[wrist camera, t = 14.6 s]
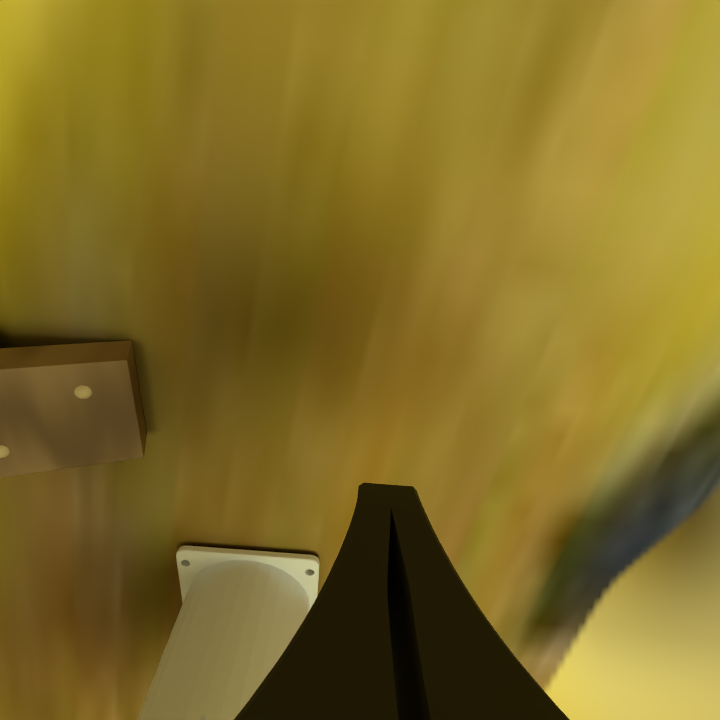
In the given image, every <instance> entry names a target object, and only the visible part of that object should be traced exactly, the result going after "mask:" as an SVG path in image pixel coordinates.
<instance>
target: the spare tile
mask: <svg viewBox="0 0 720 720" xmlns="http://www.w3.org/2000/svg"><path fill="white" fill-rule="evenodd" d="M146 435H147V431H146V425H145V419H144V413H143V407H142V401H141V394H140V388H139V382H138V376H137V370H136V364H135V358H134V352H133V345H132V340H126V341H110V342H94V343H79V344H63V345H47V346H31V347H15V348H0V478H1V477H8V476H15V475H23V474H30V473H37V472H44V471H52V470H59V469H66V468H74V467H81V466H88V465H96V464H103V463H110V462H118V461H125V460H132V459H139V458H144V452H145V443H146Z"/></svg>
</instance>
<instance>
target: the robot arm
mask: <svg viewBox="0 0 720 720" xmlns="http://www.w3.org/2000/svg"><path fill="white" fill-rule="evenodd" d="M176 559H177V567H178V574H179V581H180V588H181V596H182V603H183V604H182V607H181V609H180V612H179V615H178V617H177V620H176V622H175V625H174V627H173V630H172V632H171V635H170V637H169V640H168V642H167V645H166V647H165V650H164V652H163V655H162V657H161V660H160V662H159V665H158V668H157V670H156V673H155V675H154V678H153V680H152V683H151V685H150V688H149V690H148V693H147V695H146V698H145V700H144V703H143V705H142V708H141V710H140V713H139V715H138V718H137V720H569V719H568V718H567V716H566V715H565V714H564V713H563V712H562V711H561V710H560V709H559V708H558V707H557V706H556V705H555V703H554V702H553V701H552V700H551V699H550V697H549V696H548V695H547V694H546V693H545V692H544V690H543V689H542V688H541V687H540V686H539V684H538V683H537V682H536V681H535V680H534V679H533V677H532V676H531V675H530V674H529V673H528V672H527V670H526V669H525V668H524V667H523V666H522V664H521V663H520V662H519V661H518V660H517V658H516V657H515V656H514V655H513V653H512V652H511V651H510V649H509V648H508V647H507V645H506V644H505V643H504V642H503V640H502V639H501V638H500V636H499V635H498V634H497V632H496V631H495V630H494V628H493V627H492V625H491V624H490V623H489V621H488V620H487V618H486V617H485V616H484V614H483V613H482V611H481V610H480V608H479V607H478V605H477V604H476V602H475V601H474V599H473V598H472V596H471V595H470V593H469V592H468V590H467V588H466V587H465V585H464V584H463V582H462V580H461V579H460V577H459V575H458V574H457V572H456V570H455V569H454V567H453V565H452V564H451V562H450V560H449V558H448V556H447V554H446V553H445V551H444V549H443V547H442V545H441V543H440V542H439V540H438V538H437V536H436V534H435V532H434V530H433V528H432V526H431V524H430V522H429V519H428V517H427V515H426V513H425V511H424V508H423V506H422V504H421V501H420V499H419V496H418V494H417V491H416V490H415V489H414V487H412V486H399V485H386V484H373V483H363V484H361V485H360V486H359V489H358V498H357V503H356V507H355V511H354V514H353V517H352V521H351V524H350V526H349V529H348V532H347V534H346V537H345V539H344V542H343V544H342V547H341V549H340V552H339V554H338V556H337V558H336V560H335V562H334V565H333V567H332V569H331V571H330V573H329V575H328V577H327V579H326V581H325V583H324V585H323V587H322V589H321V591H320V593H319V595H318V580H319V564H320V561H319V559H318V557H316V556H314V555H307V554H294V553H280V552H267V551H254V550H240V549H227V548H214V547H200V546H187V545H186V546H181V547H180V548H179V549H178V551H177V553H176ZM310 569H311V570H310Z"/></svg>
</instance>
